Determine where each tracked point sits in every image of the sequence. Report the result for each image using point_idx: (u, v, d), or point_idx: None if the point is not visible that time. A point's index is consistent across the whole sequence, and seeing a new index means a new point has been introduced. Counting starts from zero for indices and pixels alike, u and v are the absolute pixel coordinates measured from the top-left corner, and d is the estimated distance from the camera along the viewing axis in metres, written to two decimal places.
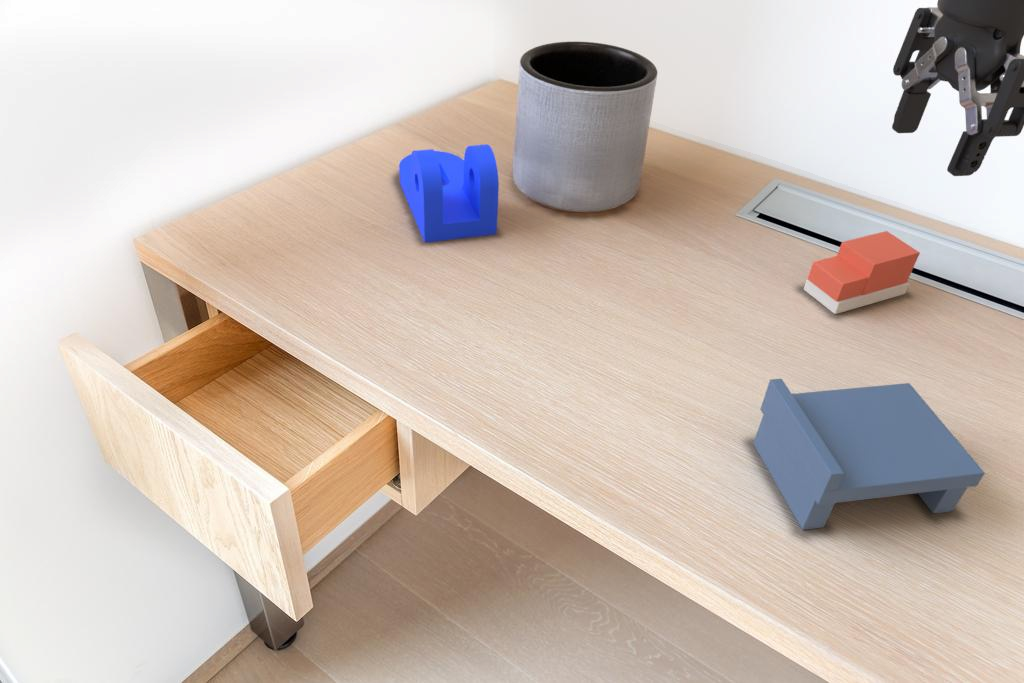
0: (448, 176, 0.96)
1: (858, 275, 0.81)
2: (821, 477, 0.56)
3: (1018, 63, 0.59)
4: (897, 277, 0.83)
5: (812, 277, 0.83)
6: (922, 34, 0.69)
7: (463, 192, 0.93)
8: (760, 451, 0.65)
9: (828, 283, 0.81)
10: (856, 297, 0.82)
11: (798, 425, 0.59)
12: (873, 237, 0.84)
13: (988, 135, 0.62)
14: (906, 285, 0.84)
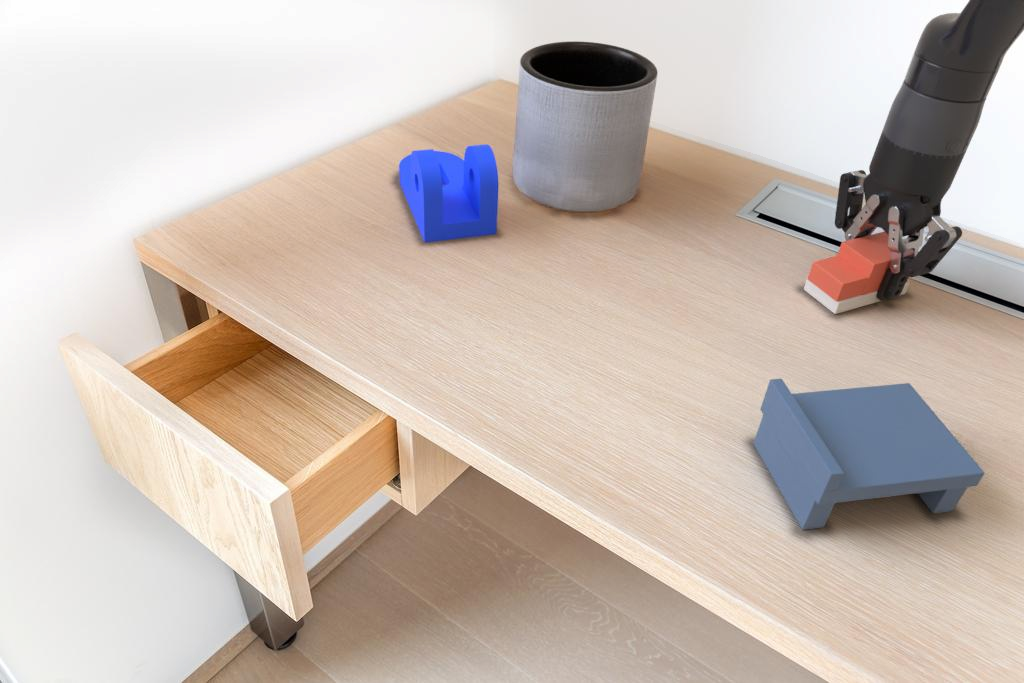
0: (448, 176, 0.96)
1: (858, 275, 0.81)
2: (821, 477, 0.56)
3: (942, 236, 0.74)
4: None
5: (812, 277, 0.83)
6: (851, 193, 0.83)
7: (463, 192, 0.93)
8: (760, 451, 0.65)
9: (828, 283, 0.81)
10: (856, 297, 0.82)
11: (798, 425, 0.59)
12: (873, 237, 0.84)
13: (910, 276, 0.78)
14: (906, 285, 0.84)
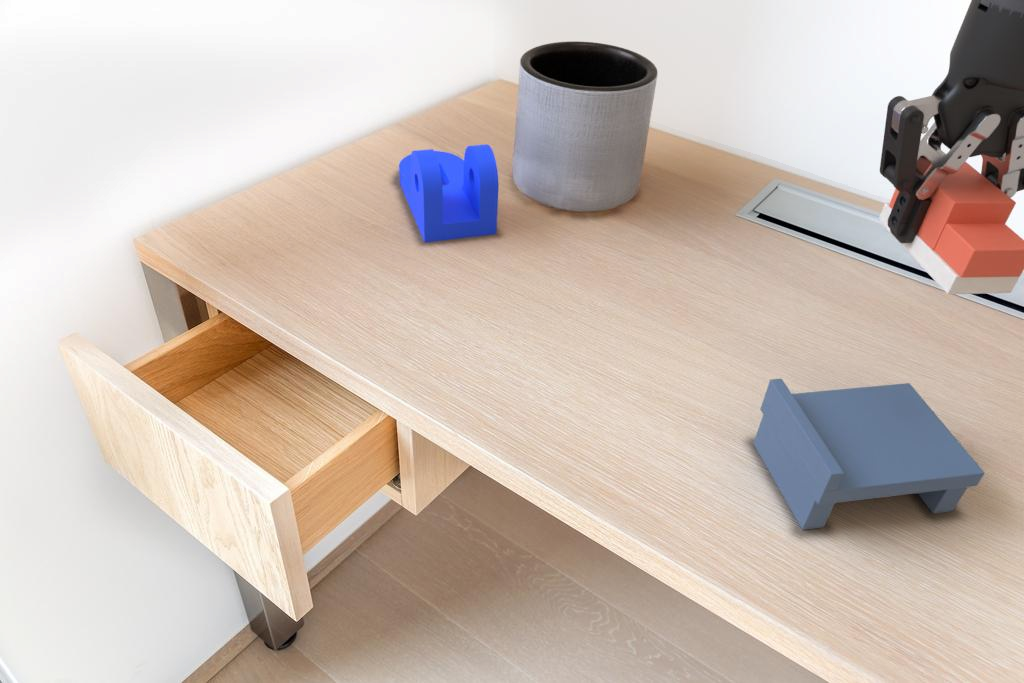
0: (448, 176, 0.96)
1: (1003, 229, 0.54)
2: (821, 477, 0.56)
3: None
4: None
5: (972, 270, 0.53)
6: None
7: (463, 192, 0.93)
8: (760, 451, 0.65)
9: (1004, 262, 0.53)
10: None
11: (798, 425, 0.59)
12: None
13: None
14: None
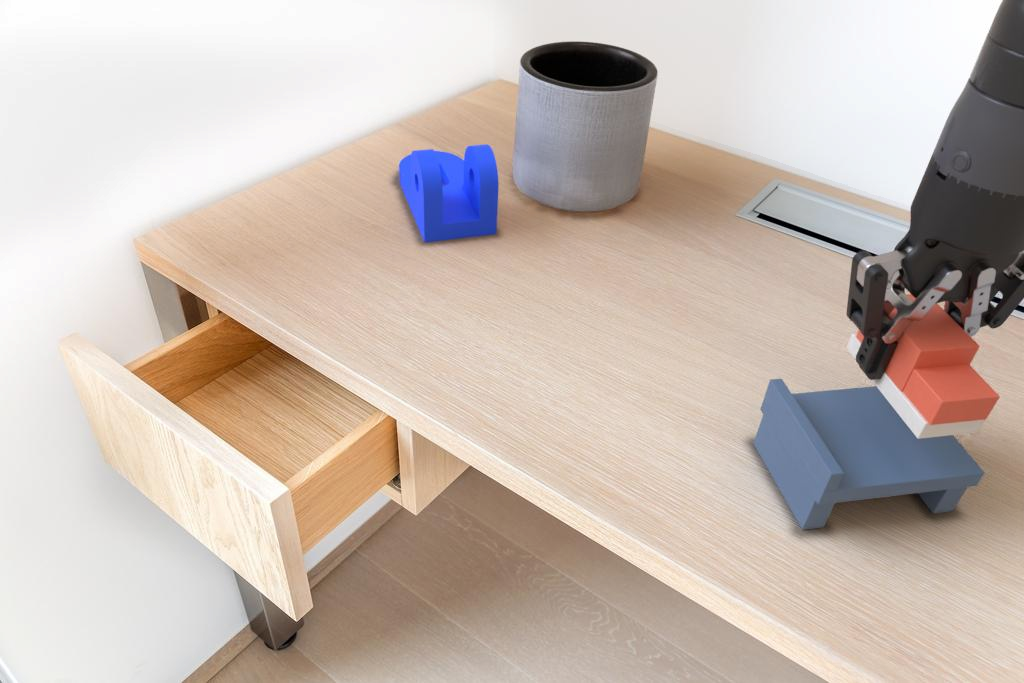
0: (448, 176, 0.96)
1: (968, 371, 0.55)
2: (821, 477, 0.56)
3: None
4: None
5: (941, 418, 0.54)
6: None
7: (463, 192, 0.93)
8: (760, 451, 0.65)
9: (971, 409, 0.54)
10: None
11: (798, 425, 0.59)
12: None
13: (996, 326, 0.57)
14: None
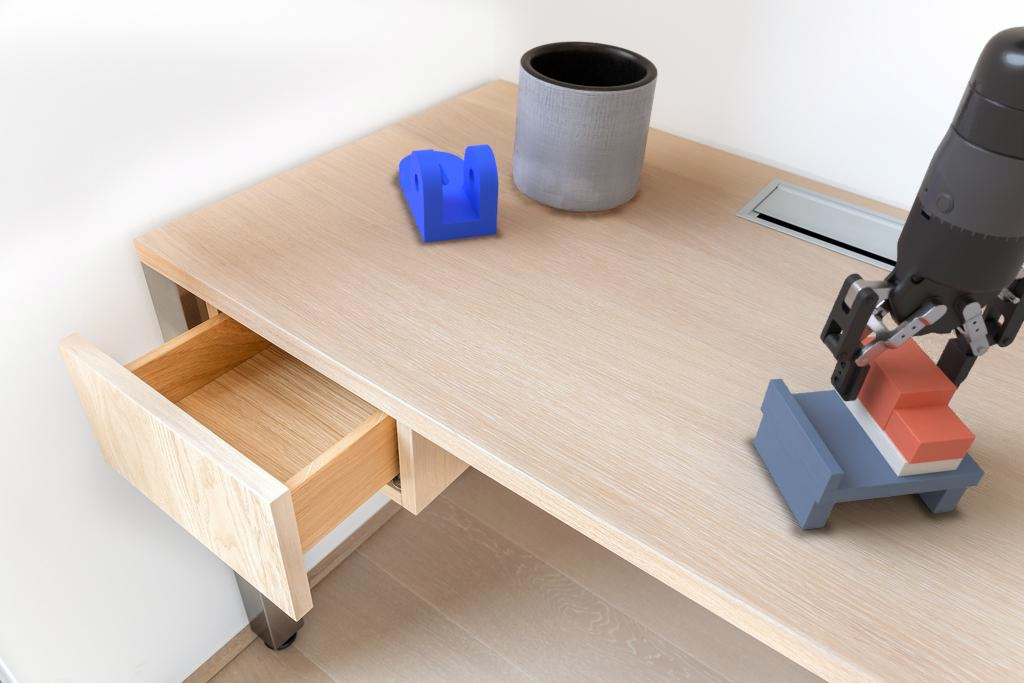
0: (448, 176, 0.96)
1: (946, 412, 0.58)
2: (821, 477, 0.56)
3: None
4: None
5: (920, 458, 0.56)
6: None
7: (463, 192, 0.93)
8: (760, 451, 0.65)
9: (949, 449, 0.56)
10: None
11: (798, 425, 0.59)
12: None
13: (1006, 345, 0.59)
14: None
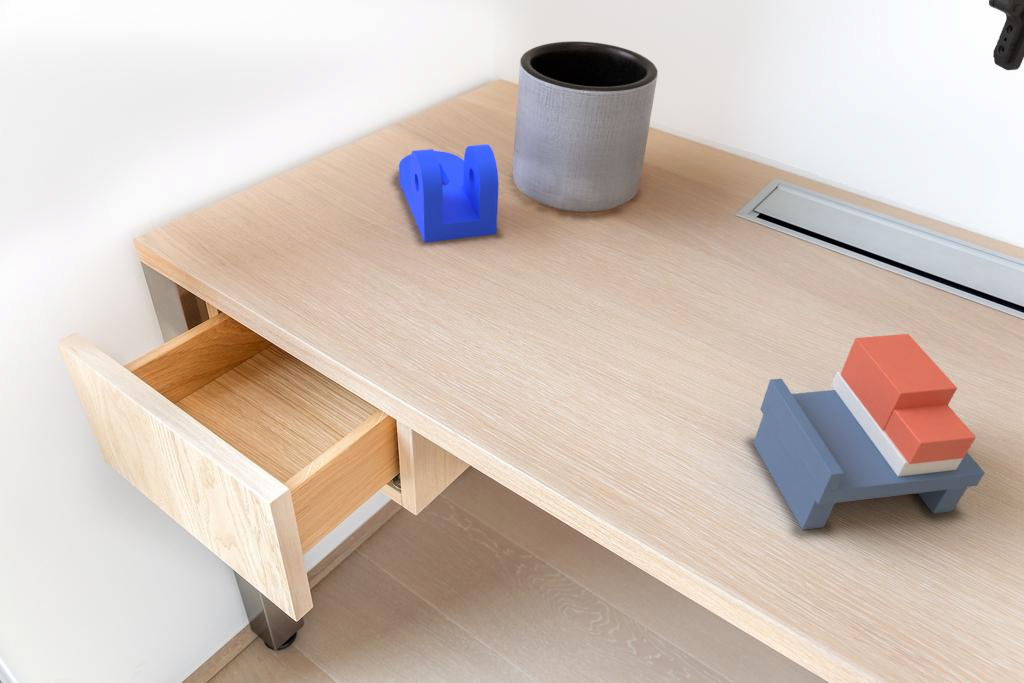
0: (448, 176, 0.96)
1: (946, 412, 0.58)
2: (821, 477, 0.56)
3: None
4: None
5: (920, 458, 0.56)
6: None
7: (463, 192, 0.93)
8: (760, 451, 0.65)
9: (949, 449, 0.56)
10: None
11: (798, 425, 0.59)
12: (877, 356, 0.60)
13: None
14: None
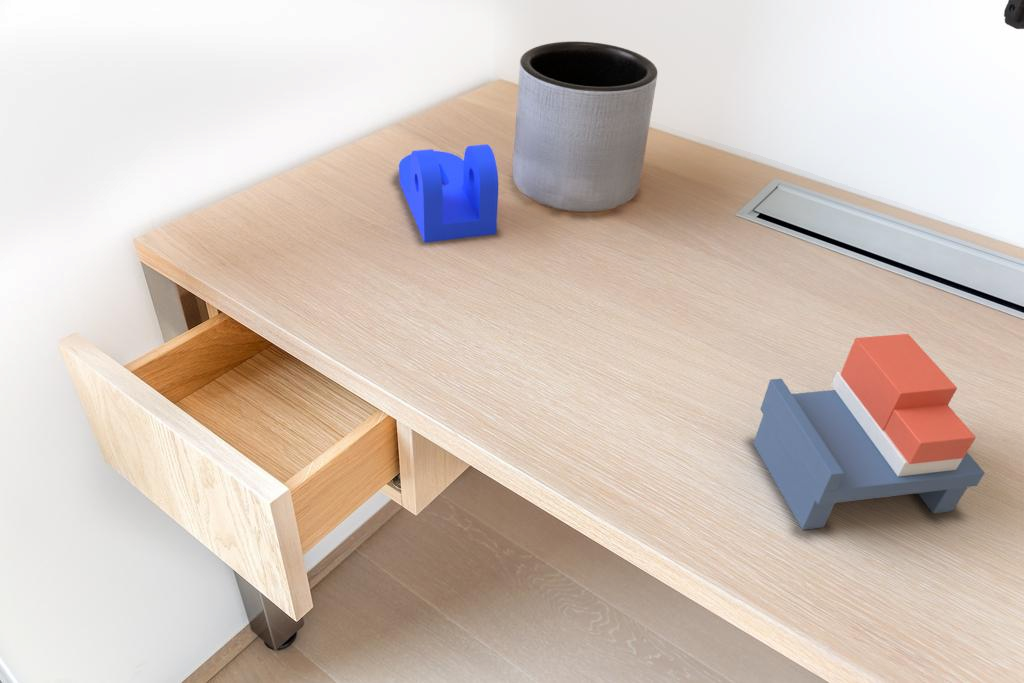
0: (448, 176, 0.96)
1: (946, 412, 0.58)
2: (821, 477, 0.56)
3: None
4: None
5: (920, 458, 0.56)
6: None
7: (463, 192, 0.93)
8: (760, 451, 0.65)
9: (949, 449, 0.56)
10: None
11: (798, 425, 0.59)
12: (877, 356, 0.60)
13: None
14: None
